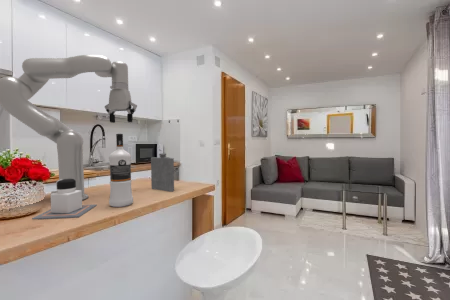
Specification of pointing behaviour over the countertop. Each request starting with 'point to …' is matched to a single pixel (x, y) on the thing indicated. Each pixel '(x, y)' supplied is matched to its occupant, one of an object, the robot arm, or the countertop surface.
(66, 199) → the medicine bottle
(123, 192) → the vodka
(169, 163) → the hip flask
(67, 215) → the card
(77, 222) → the countertop surface
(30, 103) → the robot arm
